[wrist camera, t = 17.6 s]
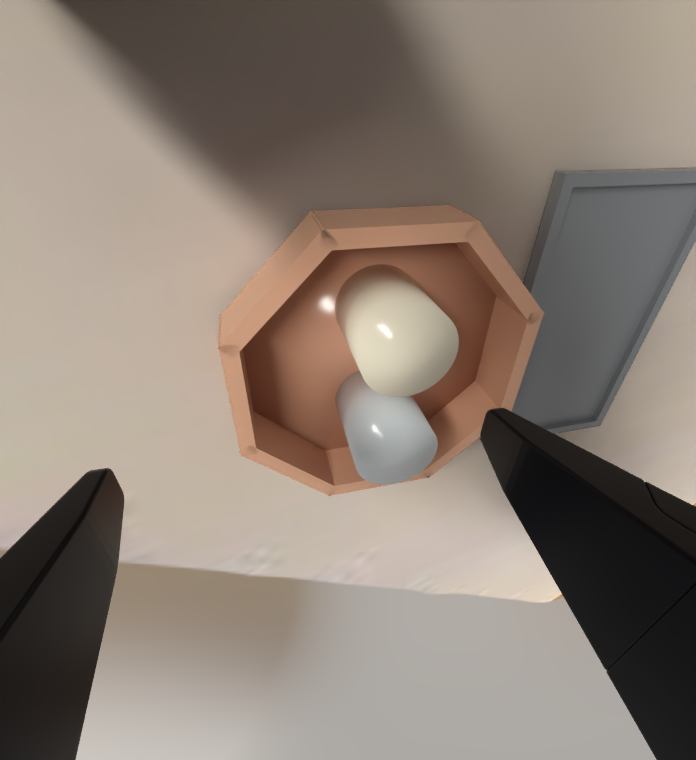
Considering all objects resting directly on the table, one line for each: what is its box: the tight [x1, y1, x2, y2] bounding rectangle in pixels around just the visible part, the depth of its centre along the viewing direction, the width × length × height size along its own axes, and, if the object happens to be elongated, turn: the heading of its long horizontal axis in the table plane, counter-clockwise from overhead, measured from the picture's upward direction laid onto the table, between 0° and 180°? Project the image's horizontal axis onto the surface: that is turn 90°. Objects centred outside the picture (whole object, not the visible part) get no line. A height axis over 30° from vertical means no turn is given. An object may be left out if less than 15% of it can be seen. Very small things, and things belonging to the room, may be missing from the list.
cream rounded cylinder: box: [335, 264, 459, 397], centre depth 19 cm, size 4×4×5 cm
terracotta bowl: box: [218, 204, 544, 496], centre depth 21 cm, size 16×16×4 cm
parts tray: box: [480, 168, 696, 440], centre depth 25 cm, size 18×10×1 cm, turn 179°
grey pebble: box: [335, 370, 438, 485], centre depth 22 cm, size 4×4×5 cm
